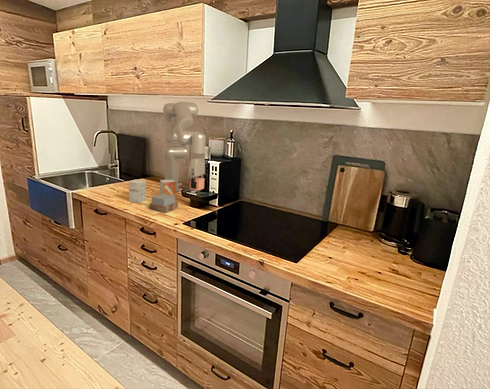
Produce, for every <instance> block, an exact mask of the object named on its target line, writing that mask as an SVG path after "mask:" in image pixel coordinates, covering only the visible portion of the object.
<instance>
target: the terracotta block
mask: <svg viewBox="0 0 490 389" xmlns="http://www.w3.org/2000/svg"><path fill="white" fill-rule="evenodd" d="M193 178H195V177H193ZM203 189H205V178H204V177H203V178H200V177H197V178H196V189H194V188H191V180H190V179H189V190H192V191H193V190H194V191H201V190H203Z"/></svg>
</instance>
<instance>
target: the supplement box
mask: <svg viewBox="0 0 490 389" xmlns="http://www.w3.org/2000/svg"><path fill="white" fill-rule="evenodd" d="M146 194H147V180H143V179H142V180H141V179H133V180H130V181H128V202H131V203H138V204H141V203H143V202H146V200H147V195H146Z"/></svg>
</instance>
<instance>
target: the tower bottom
mask: <svg viewBox="0 0 490 389" xmlns="http://www.w3.org/2000/svg"><path fill="white" fill-rule="evenodd" d="M177 209H178V202H176V201H175V203H173V204H170V205H167V206H165V207H163V206H160V205H156V204H152V202H151V203H149V210H150V211H152V212H153V211H154V212H158V213H161V214H168V213H171V212H172V211H175V210H177Z"/></svg>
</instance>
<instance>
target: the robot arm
mask: <svg viewBox="0 0 490 389" xmlns="http://www.w3.org/2000/svg"><path fill="white" fill-rule="evenodd" d="M162 112H163V117H164V121H165V141H166V142H167V144H172V145H166V146H164V147H163V150H162V152H163V154H162V155H163V160H164V180H174V181H175V182H176V193H177V191H178V192H181V187H180V186H182V185H183V183H182V182H179V173H180V172H179V169H180V168H179V167H180V166H179V164H178V162H177V161H176V160H187V159H188V158H189V155H190V160H189V161H190V162H189V167H188V178H189V181H190V180H191V188H194V189H196V178H197V177H200V178H204V177H205V174H206V171H205V170H206V161H205V157H206V138H207V137H206V135H205V134H204V133H202V132H200V131H188V130H186V129H188V128H189V127H191V126H192V125H193V123H194V118H195V117H197V115H198V114H199V108H198V105H197V104H196V103H195V102H191V101H177V102H173V103H172V102H168V103H165V104H164V105H163V109H162ZM174 144H175V145H174ZM176 144H177V145H176ZM190 146H191V148H190ZM190 149H191V153H190ZM193 177H195V178H193Z"/></svg>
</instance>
